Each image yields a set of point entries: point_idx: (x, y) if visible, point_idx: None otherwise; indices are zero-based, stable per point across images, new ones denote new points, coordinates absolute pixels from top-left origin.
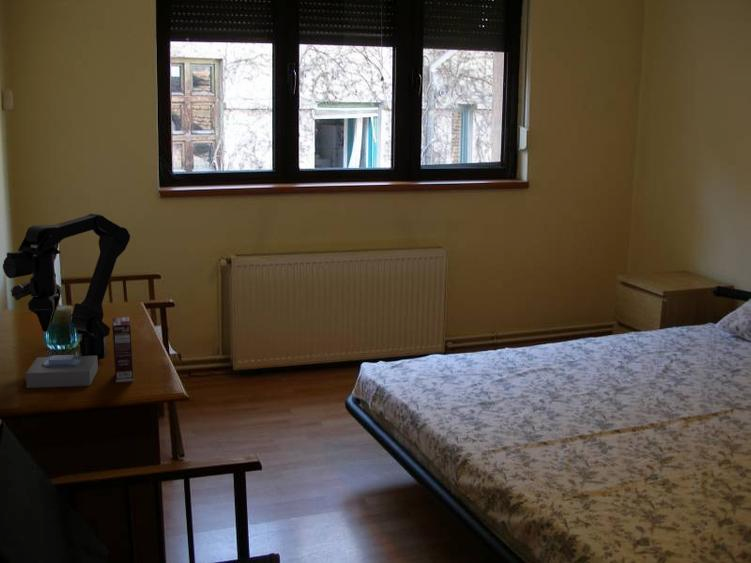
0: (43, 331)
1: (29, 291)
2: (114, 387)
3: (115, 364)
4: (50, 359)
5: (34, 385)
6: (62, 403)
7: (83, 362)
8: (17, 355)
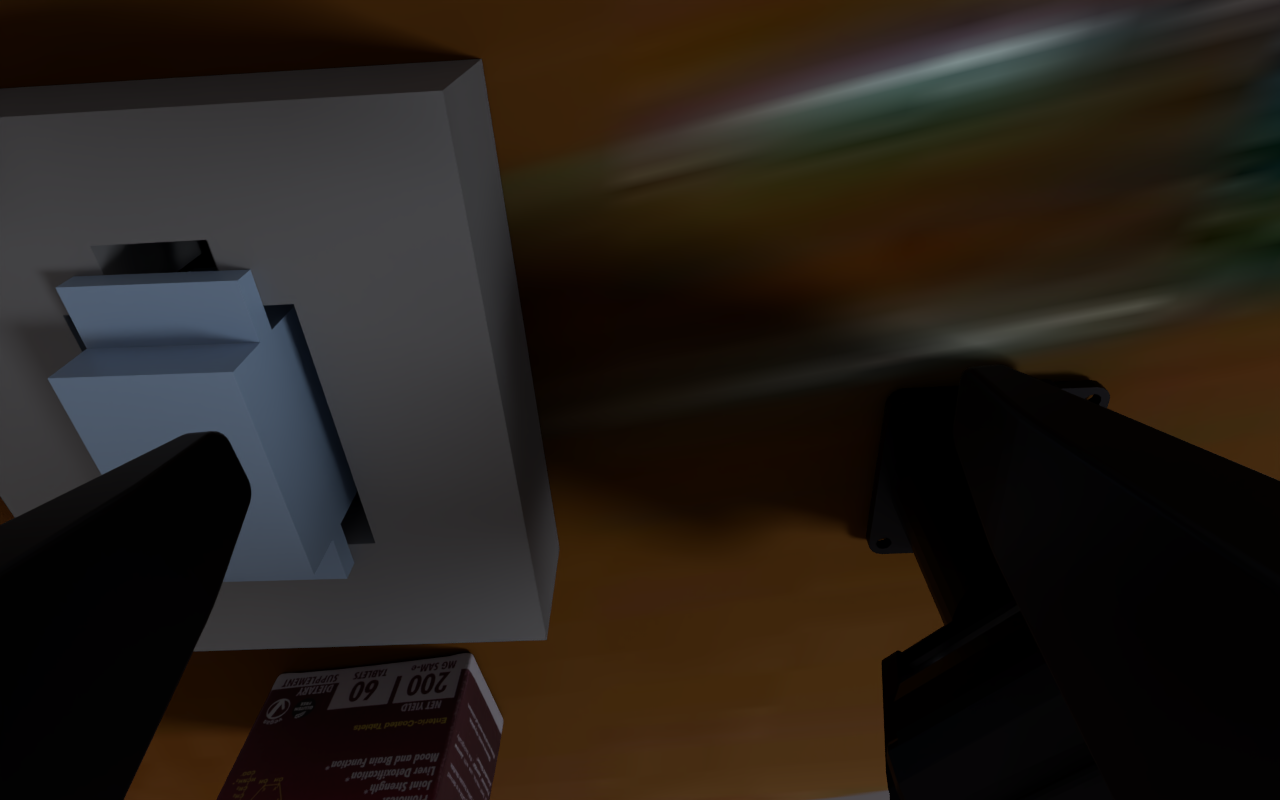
0: (194, 437)
1: None
2: (186, 676)
3: (219, 797)
4: (71, 394)
5: None
6: None
7: (328, 584)
8: None
